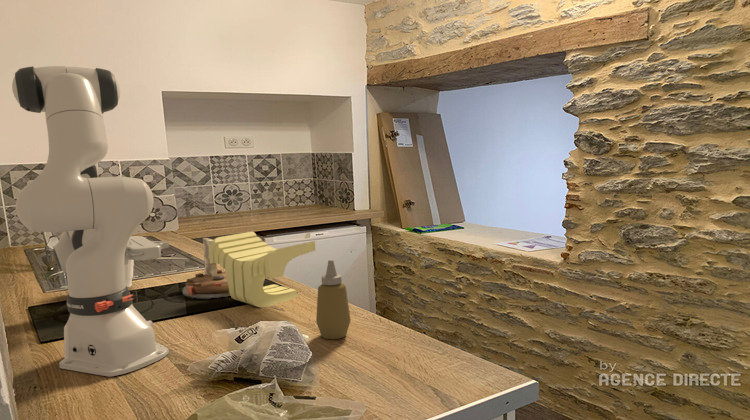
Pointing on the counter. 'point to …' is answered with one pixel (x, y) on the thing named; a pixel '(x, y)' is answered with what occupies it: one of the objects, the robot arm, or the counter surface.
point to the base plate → (189, 292)
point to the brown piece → (209, 276)
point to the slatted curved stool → (255, 267)
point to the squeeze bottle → (332, 305)
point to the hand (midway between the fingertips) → (167, 244)
